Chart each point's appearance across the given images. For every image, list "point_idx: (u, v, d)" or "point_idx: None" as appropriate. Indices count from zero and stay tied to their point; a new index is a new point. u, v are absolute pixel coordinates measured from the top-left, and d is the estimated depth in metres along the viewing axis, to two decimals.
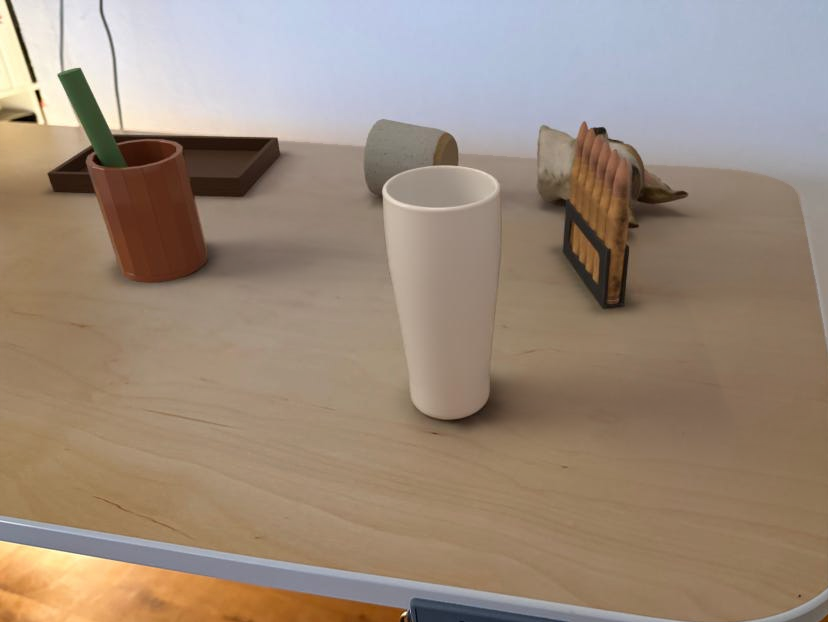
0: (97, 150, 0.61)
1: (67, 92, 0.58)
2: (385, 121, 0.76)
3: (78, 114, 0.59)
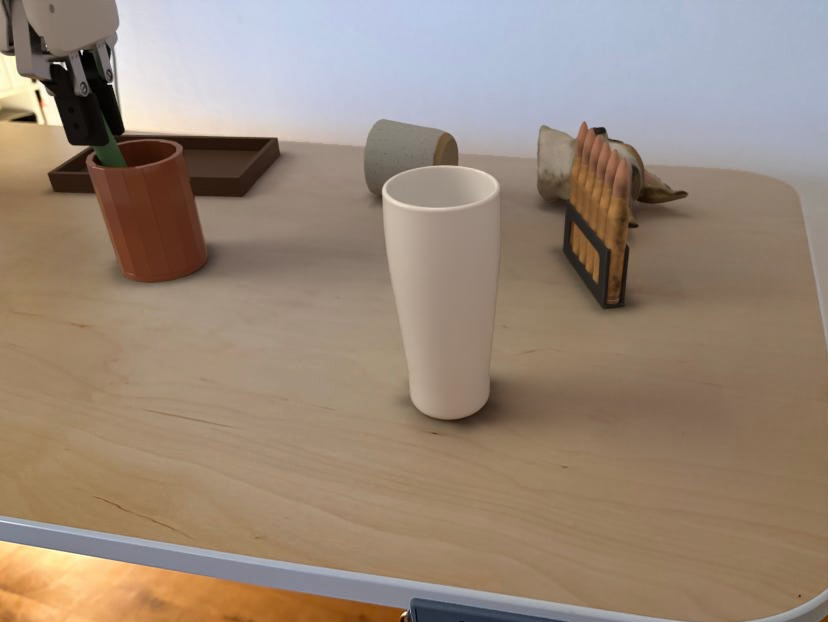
0: (97, 150, 0.61)
1: None
2: (385, 121, 0.76)
3: None
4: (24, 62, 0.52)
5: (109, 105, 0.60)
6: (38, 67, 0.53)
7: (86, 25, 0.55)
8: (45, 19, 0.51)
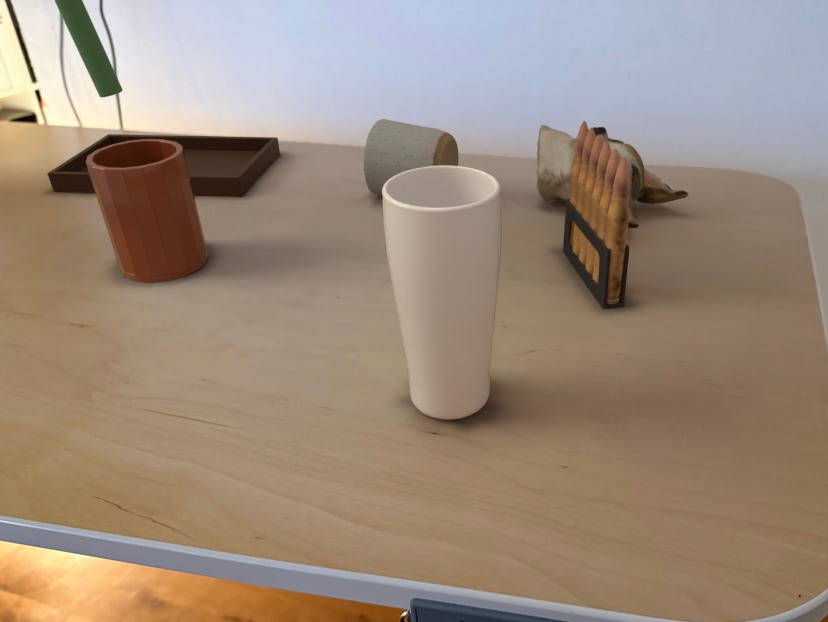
0: None
1: None
2: (385, 121, 0.76)
3: None
4: None
5: None
6: None
7: None
8: None
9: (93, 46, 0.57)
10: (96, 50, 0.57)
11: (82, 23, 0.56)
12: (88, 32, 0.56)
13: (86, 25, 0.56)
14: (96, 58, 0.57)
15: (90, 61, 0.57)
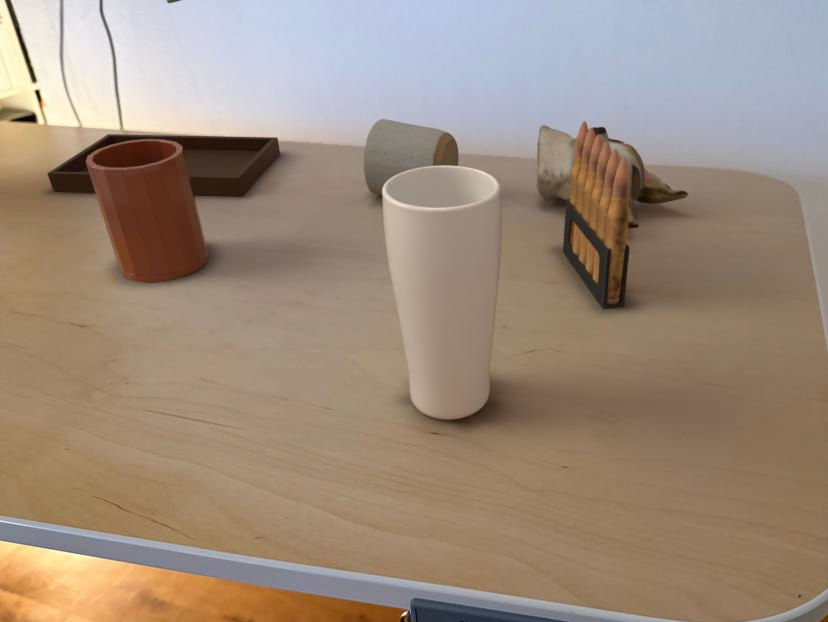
0: None
1: None
2: (385, 121, 0.76)
3: None
4: None
5: None
6: None
7: None
8: None
9: None
10: None
11: None
12: None
13: None
14: None
15: None
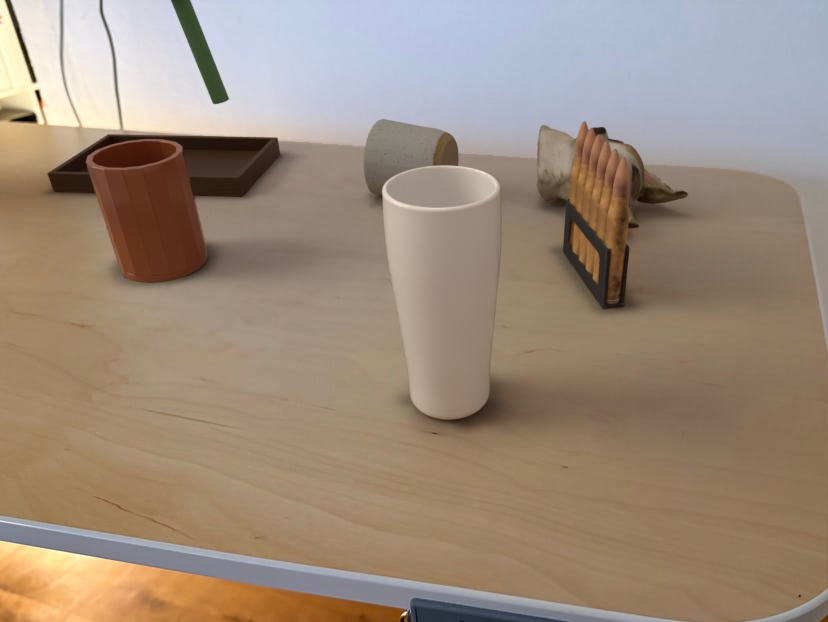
0: (176, 4, 0.75)
1: None
2: (385, 121, 0.76)
3: None
4: None
5: None
6: None
7: None
8: None
9: (211, 67, 0.78)
10: (213, 70, 0.78)
11: (204, 51, 0.77)
12: (208, 57, 0.78)
13: (207, 52, 0.78)
14: (212, 76, 0.79)
15: (208, 78, 0.79)
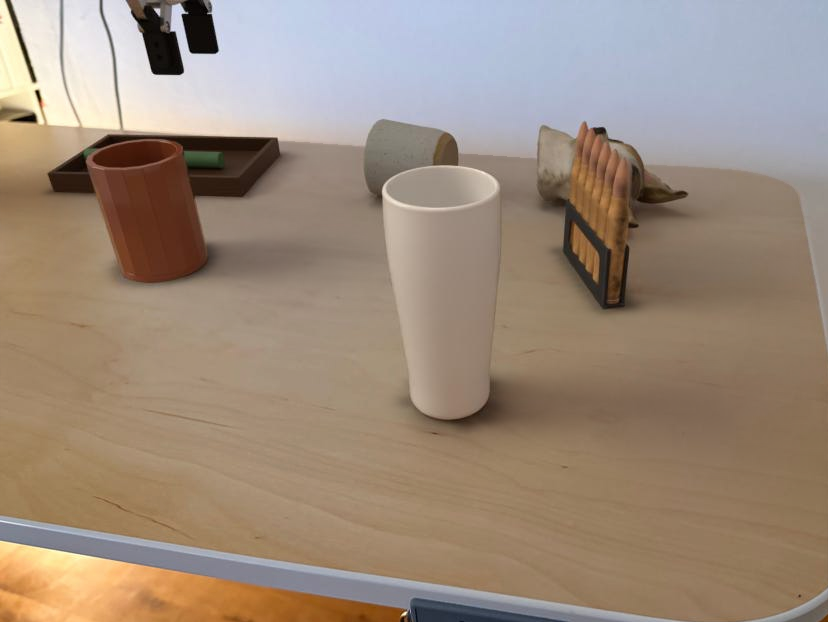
0: None
1: None
2: (385, 121, 0.76)
3: None
4: None
5: (209, 29, 0.81)
6: None
7: None
8: None
9: (187, 155, 0.84)
10: (190, 154, 0.84)
11: None
12: None
13: None
14: (194, 156, 0.84)
15: (195, 161, 0.84)
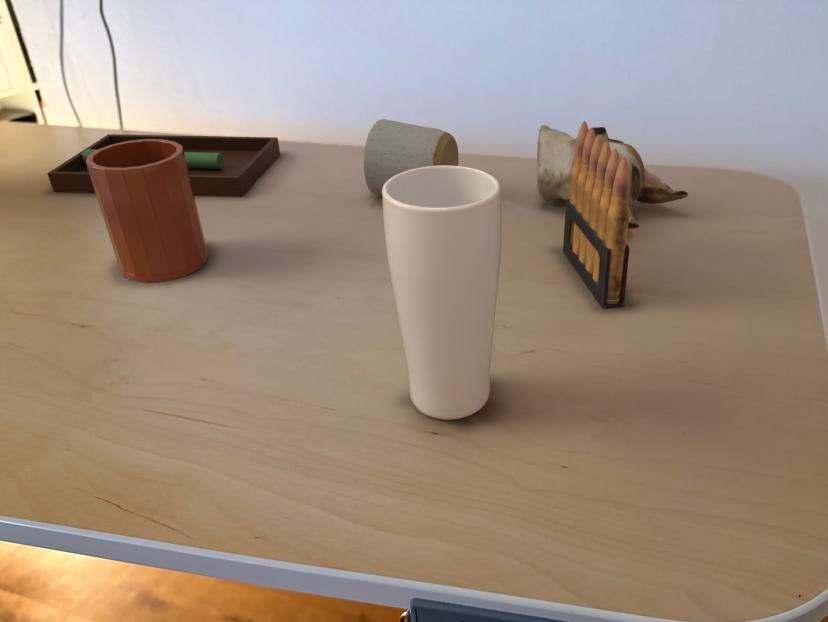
0: None
1: None
2: (385, 121, 0.76)
3: None
4: None
5: None
6: None
7: None
8: None
9: (186, 158, 0.84)
10: (189, 157, 0.84)
11: None
12: None
13: None
14: (193, 160, 0.84)
15: (195, 164, 0.84)
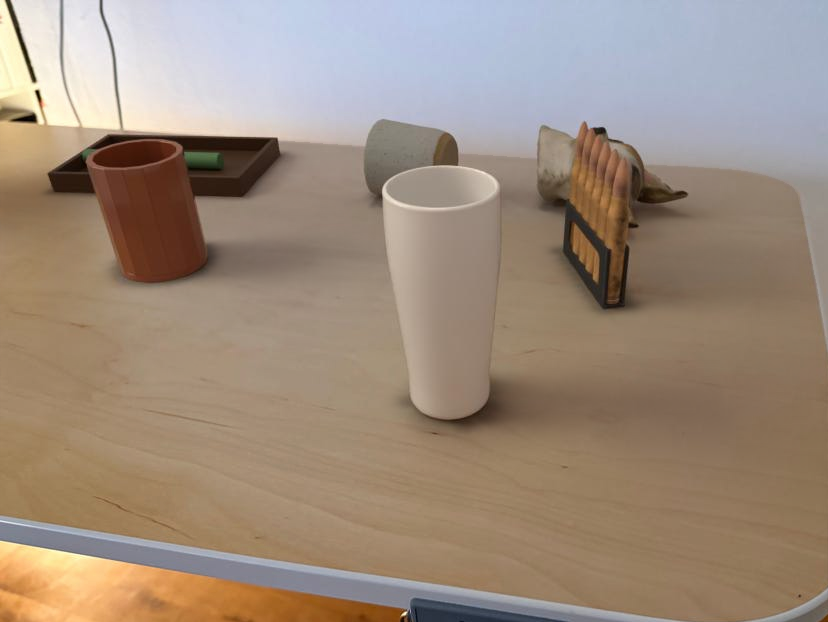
0: None
1: None
2: (385, 121, 0.76)
3: None
4: None
5: None
6: None
7: None
8: None
9: (186, 158, 0.84)
10: (189, 157, 0.84)
11: None
12: None
13: None
14: (193, 160, 0.84)
15: (195, 164, 0.84)
